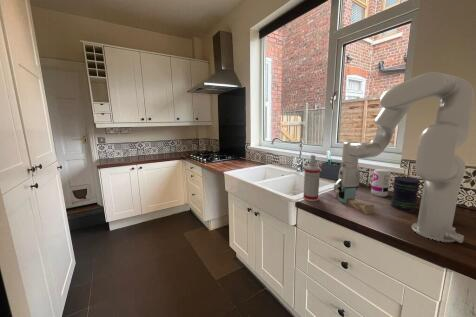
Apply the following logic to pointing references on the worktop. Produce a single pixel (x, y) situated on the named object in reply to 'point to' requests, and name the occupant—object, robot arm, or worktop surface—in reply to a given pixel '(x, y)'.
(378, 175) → the supplement can
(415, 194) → the storage jar
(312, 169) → the spray bottle
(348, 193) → the block
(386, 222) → the worktop surface
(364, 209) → the rail
